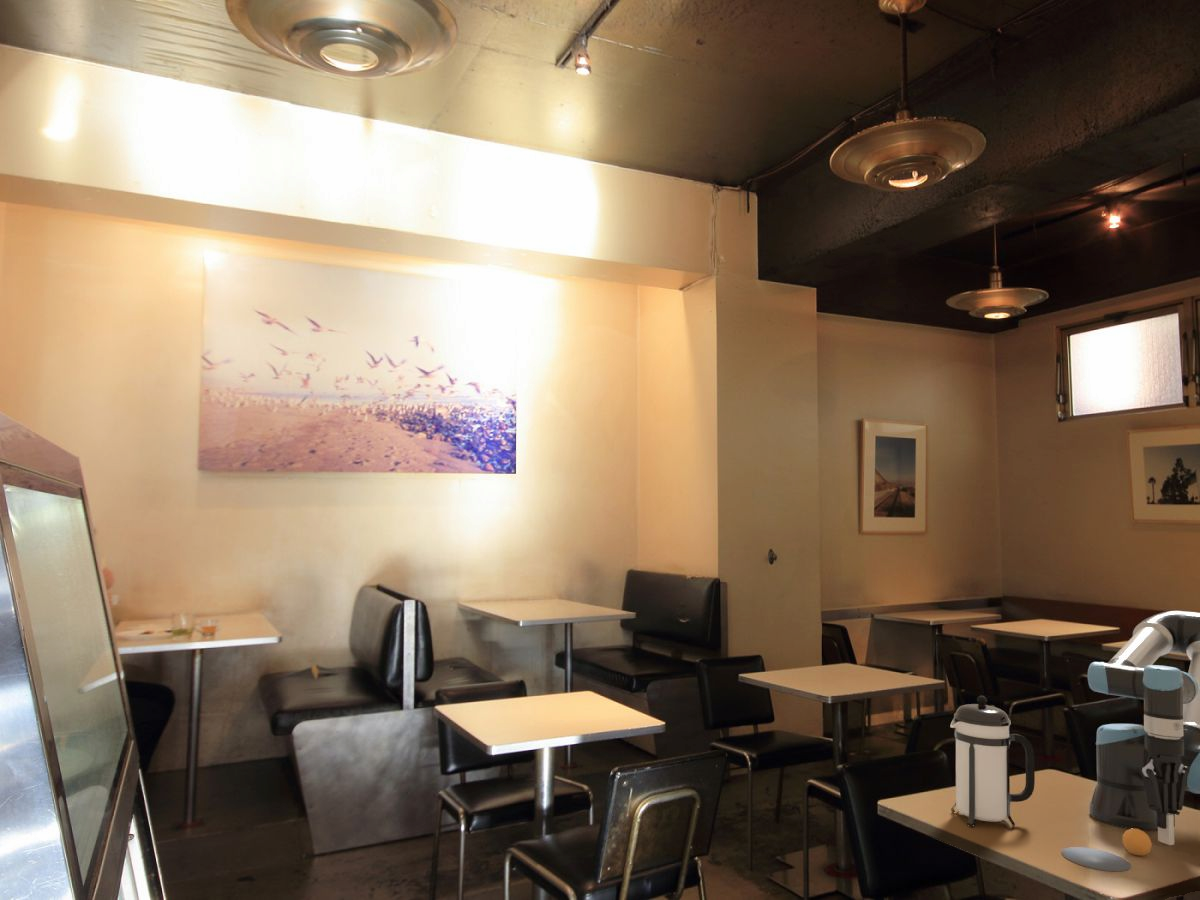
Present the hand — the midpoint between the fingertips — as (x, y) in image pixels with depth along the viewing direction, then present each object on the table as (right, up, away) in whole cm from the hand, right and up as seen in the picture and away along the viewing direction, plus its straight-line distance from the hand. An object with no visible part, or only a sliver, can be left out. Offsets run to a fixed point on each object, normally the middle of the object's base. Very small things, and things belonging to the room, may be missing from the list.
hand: (1166, 842), depth 190 cm
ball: (-8, +1, -2) cm, 9 cm away
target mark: (-20, -1, -6) cm, 21 cm away
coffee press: (-33, -3, +17) cm, 37 cm away
